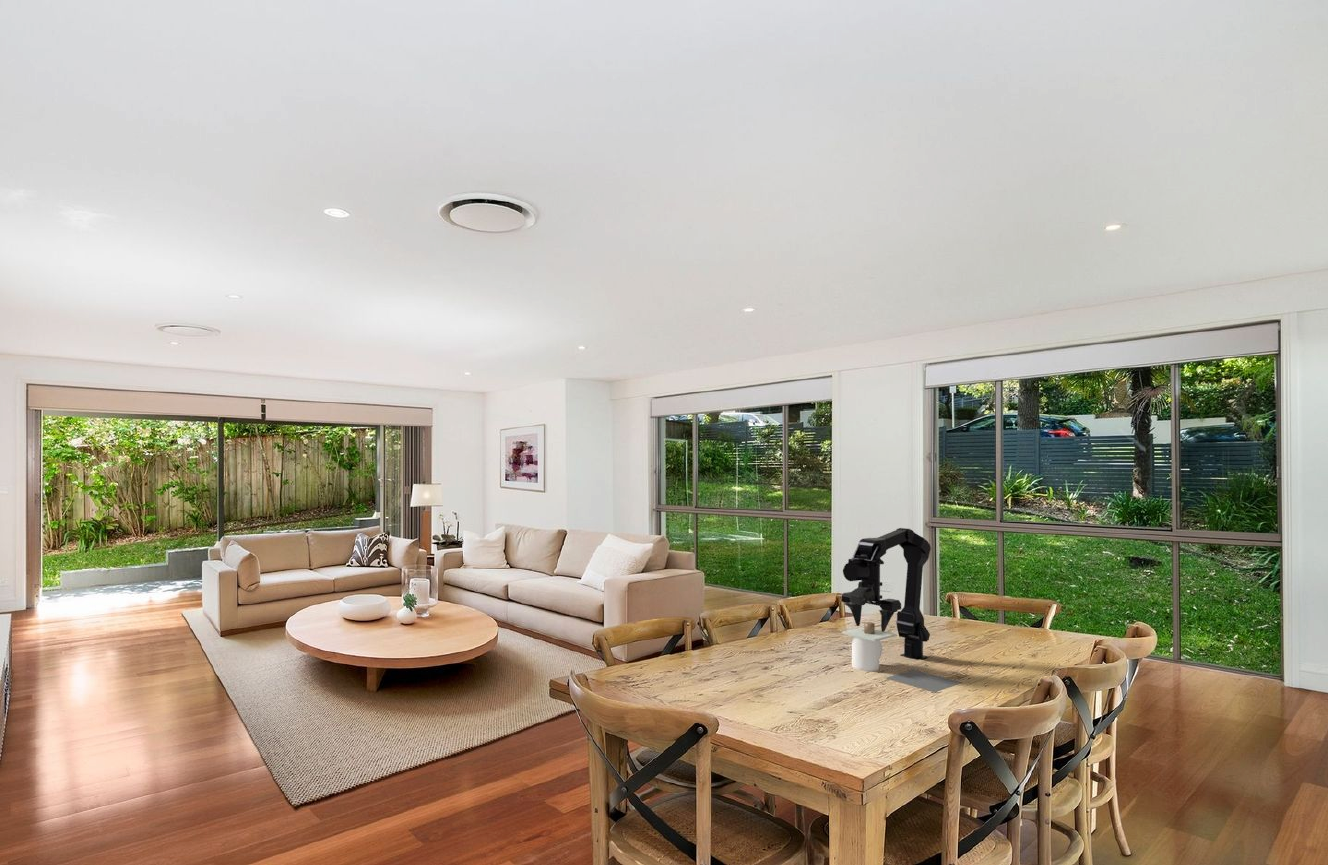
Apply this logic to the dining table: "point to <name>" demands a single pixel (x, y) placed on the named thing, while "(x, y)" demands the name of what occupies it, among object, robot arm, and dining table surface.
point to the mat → (924, 680)
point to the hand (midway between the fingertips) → (870, 628)
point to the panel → (869, 632)
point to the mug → (866, 654)
